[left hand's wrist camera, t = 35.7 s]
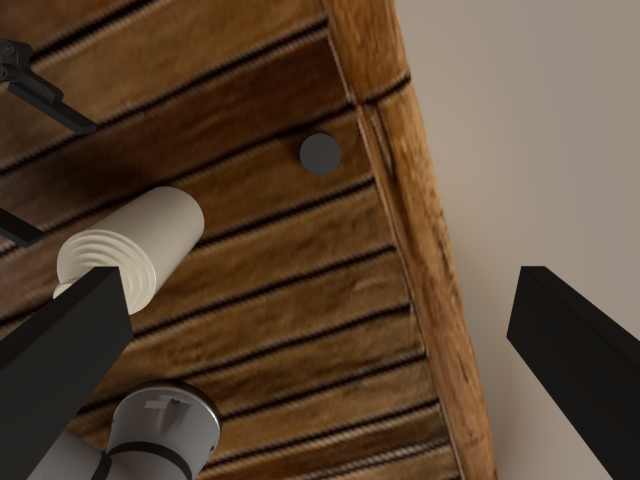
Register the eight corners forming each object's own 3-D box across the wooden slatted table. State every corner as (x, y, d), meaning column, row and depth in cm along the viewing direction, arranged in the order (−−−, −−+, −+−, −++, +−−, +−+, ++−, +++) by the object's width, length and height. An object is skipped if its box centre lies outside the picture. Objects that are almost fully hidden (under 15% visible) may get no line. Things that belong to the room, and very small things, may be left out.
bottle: (121, 211, 45) (-7, 290, 28) (171, 172, 44) (70, 229, 26) (168, 262, 48) (79, 365, 30) (218, 227, 46) (154, 314, 28)
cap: (323, 179, 44) (323, 182, 42) (292, 155, 43) (291, 157, 41) (347, 148, 43) (349, 151, 41) (316, 123, 42) (316, 124, 40)
